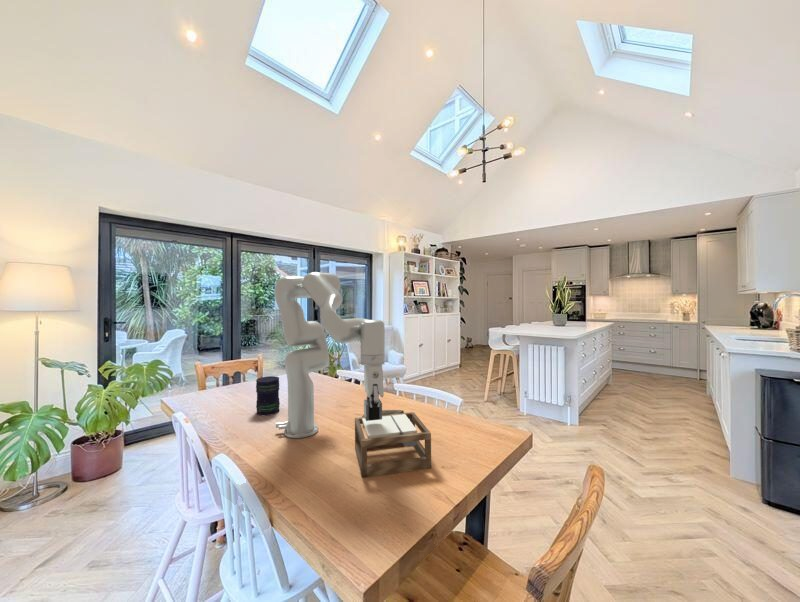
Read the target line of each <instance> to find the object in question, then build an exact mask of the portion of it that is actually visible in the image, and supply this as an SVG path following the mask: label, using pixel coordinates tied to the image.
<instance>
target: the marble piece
mask: <svg viewBox="0 0 800 602" xmlns="http://www.w3.org/2000/svg"><path fill="white" fill-rule="evenodd" d="M400 413H405V411H404V410H402V409H382V415H390V414H400ZM361 417H364V414H363V415H362V416H361Z"/></svg>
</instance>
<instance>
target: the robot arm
mask: <svg viewBox="0 0 800 602" xmlns="http://www.w3.org/2000/svg"><path fill="white" fill-rule="evenodd" d="M275 283H276V284H275V285H274V286H275V287H274V299H275V302H276V305H277V307H278V310H279V313H280V318H281V324H282V329H283V330H282V331H283V335H284V339H285V342H286V344H287V346H289V347H292V348H293V347H303V346H309V348H307V347H306V348H301V349H295V350H293V351H291V352H289V353H288V354H287V355H286V356H285V358H284V367H285V371H286V372H285V373H286V377H287V378H286V379H287V380H286V381H287V402H288V403H287V407H288V409H287V411H288V413H287V415H288V417H287V418H288V419H287V420H285V421H284V422H283V421H281V422H275V428H276V429H278V430H283V434H284V436H285V437H287V438H290V439H301V438H302V439H303V438H308V437H310V436H313V435H315V434H317V432H318V431H319V426H318V424H316V423H315V389H314V388H315V385H314V382H313V380H312V378H311V377H310V374H311V373H315V372H318V371H322V370H325V369H326V368H327V367H328V365H329V364H330V353H329V349H328V343H327V338H326V333H327V334H328V335H329V337H330V338H331V339H332V340H333V341H335V342H337V343H339V344H347V343H353V342H360V365H361V366H363V369H364V370H363V373H364V374H363V379H364V380H363V385H364V387H363V388H364V392H365V394H366V399H370V407H369V420H379V399H380V397H381V398H383V397H384V395H385V394H384V392H385V391H384V369H383V366H384V365H385V360H386V359H385V354H386V353H385V350H386V349H385V348H386V347H385V339H386V338H385V332H386V331H385V322H384V321H383V320H381V319H380V320H379V319H367V318H364V317H356V318H353V317H352V318H342V317H340V315H338V314H337V312H336V311H337V310H338V309H339V308H340V306H341V305H342V303H343V297H342V294H341V293H340V290H341V287H342V286H341V285H342V284H341V280H340V279H339V277H338V276H337V275H335V274H334V273H331V272H320V271H319V272H318V271H313V272H309V273H307V274H305V275H304V276H297V275H290V276H289V275H287V276H283V277H281V278H279V279H278V280H277V281H276V282H275ZM296 299H312V300H313V301H314V302H315V304H316V305H317V307H319V309H320V321H321V322H318V321H317V320H316V321H315V320H307V321H306V318H305V313H304V310H303V308H302V306H301V304H300V303H299V302H298V301H297V300H296ZM325 331H326V332H325ZM372 399H374V400H373V401H372Z"/></svg>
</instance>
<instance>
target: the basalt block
mask: <svg viewBox="0 0 800 602" xmlns="http://www.w3.org/2000/svg"><path fill="white" fill-rule="evenodd" d="M373 400H374V399H372V401H373ZM369 407H370V399H367V398H366V399H363V415H364V417H365V419H366V421H371V420H369ZM382 410H383V403H382V401H381V399H380V398H379V420H381V419H382Z"/></svg>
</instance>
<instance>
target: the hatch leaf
mask: <svg viewBox="0 0 800 602" xmlns="http://www.w3.org/2000/svg"><path fill="white" fill-rule="evenodd" d="M362 422H363V424H362V425H363V427H364V431H365V434H366V436H367V438H376V437H385V436H394V435H404V434H413V433H418V430H417V428H416V426H415V427H414V425H413V424H412V423H411V421H410V419H408V417H407V416H406V415H405V414H402V415H390V416H382V419H381V420H371V421H366V419H365V418H362ZM415 445H417V441H411V442H403V443H402V446H403V447H404V448H405V447H414V446H415Z"/></svg>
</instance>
